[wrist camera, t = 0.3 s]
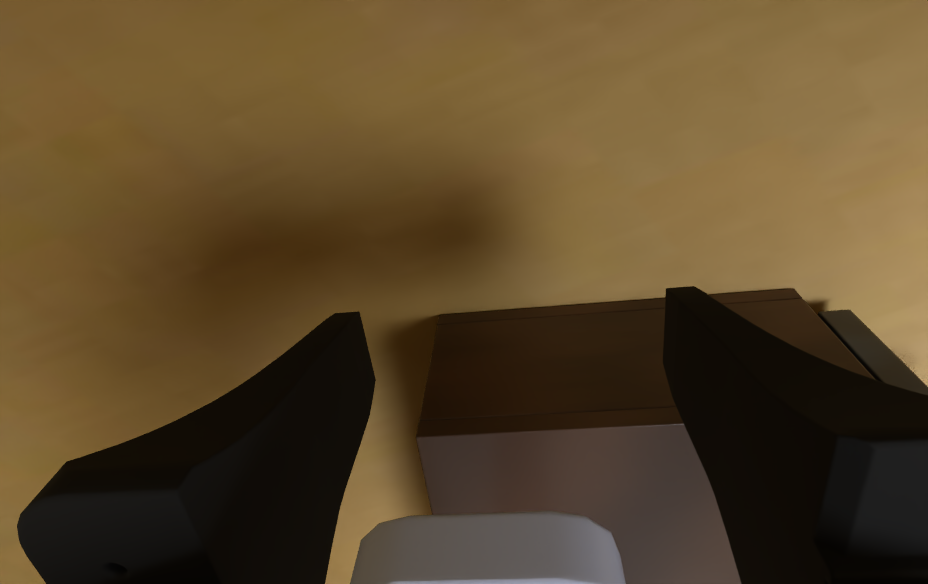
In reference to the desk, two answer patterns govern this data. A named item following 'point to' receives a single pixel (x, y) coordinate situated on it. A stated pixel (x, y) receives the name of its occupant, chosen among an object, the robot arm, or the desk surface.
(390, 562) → the robot arm
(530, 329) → the cabinet
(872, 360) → the drawer
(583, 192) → the desk surface
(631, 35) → the desk surface
